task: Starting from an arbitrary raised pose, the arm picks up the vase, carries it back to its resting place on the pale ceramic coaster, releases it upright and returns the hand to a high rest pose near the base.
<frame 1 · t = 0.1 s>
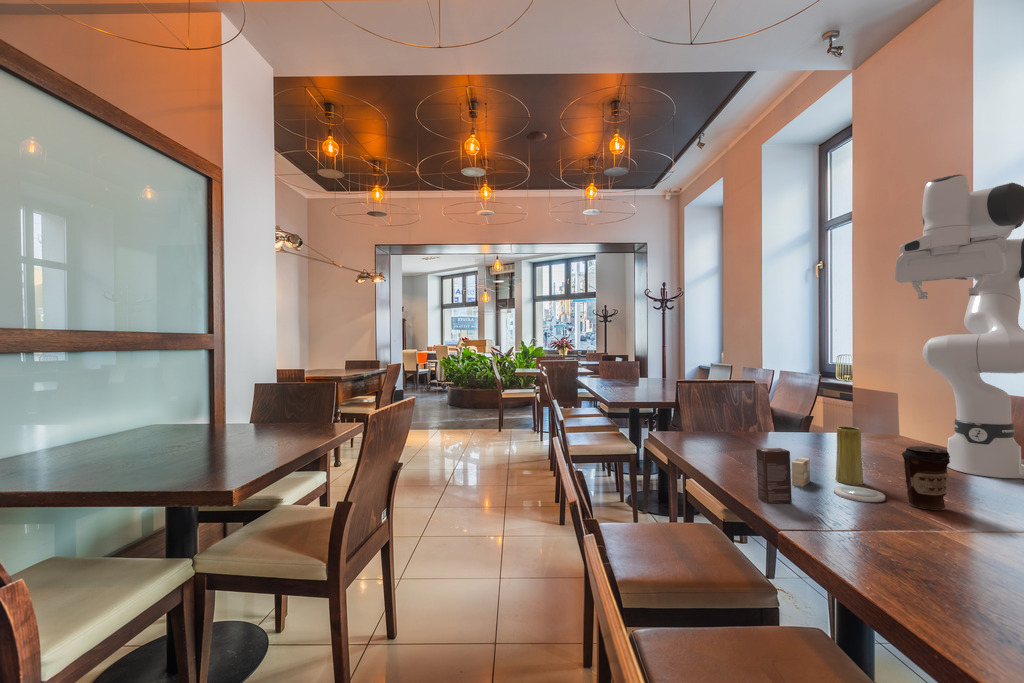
hand: (947, 297, 116), 48 cm above the table, fingers open, 8 cm apart
coffee cup: (927, 507, 106), on the table
coaster: (858, 495, 114), on the table
vase: (849, 482, 125), on the table
box: (774, 501, 111), on the table
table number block: (801, 483, 124), on the table
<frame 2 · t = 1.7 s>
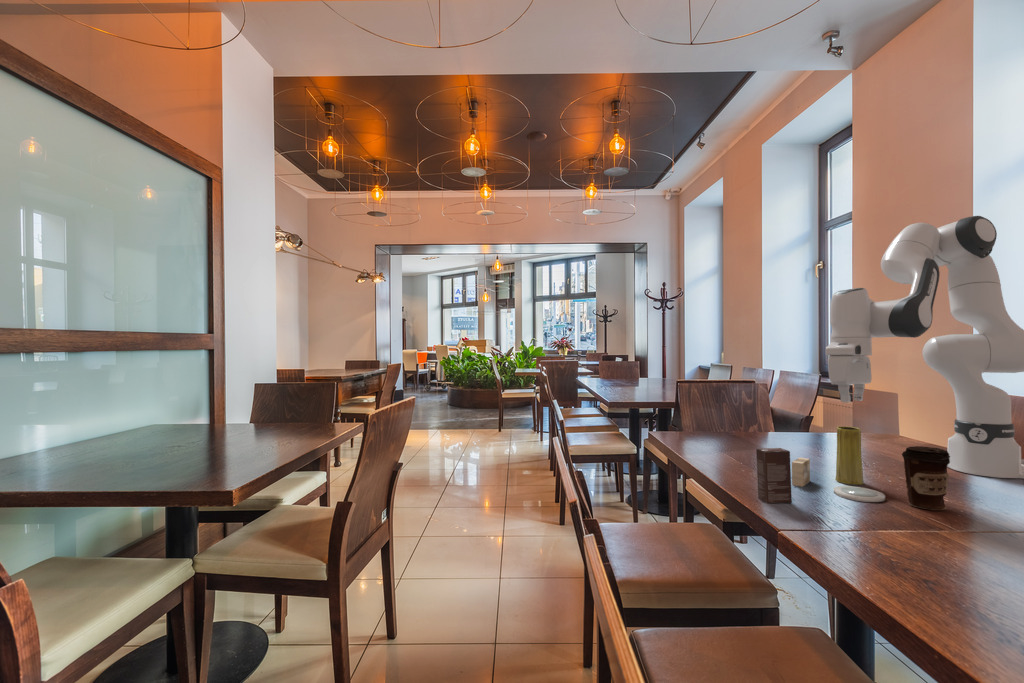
hand: (852, 401, 124), 21 cm above the table, fingers open, 8 cm apart
nothing on the table moved.
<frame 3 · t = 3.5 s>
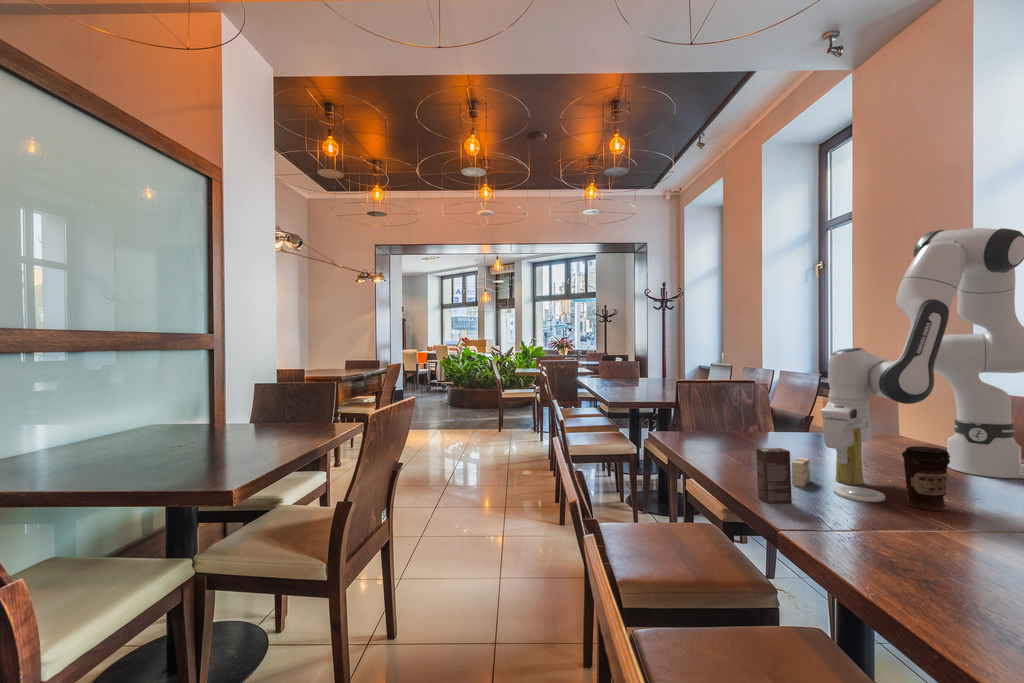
hand: (849, 461, 125), 5 cm above the table, fingers closed on vase, 5 cm apart
vase: (849, 482, 125), on the table, touching gripper
everything else where it was.
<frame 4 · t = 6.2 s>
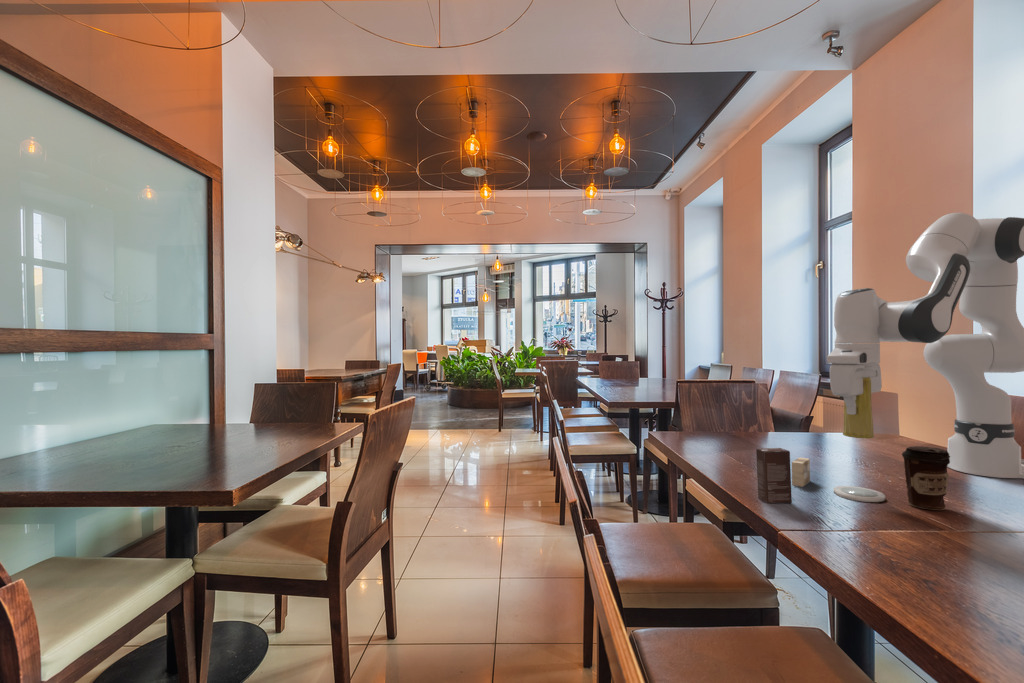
hand: (858, 412, 114), 20 cm above the table, fingers closed on vase, 5 cm apart
vase: (858, 437, 114), point 14 cm above the table, touching gripper
everything else where it was.
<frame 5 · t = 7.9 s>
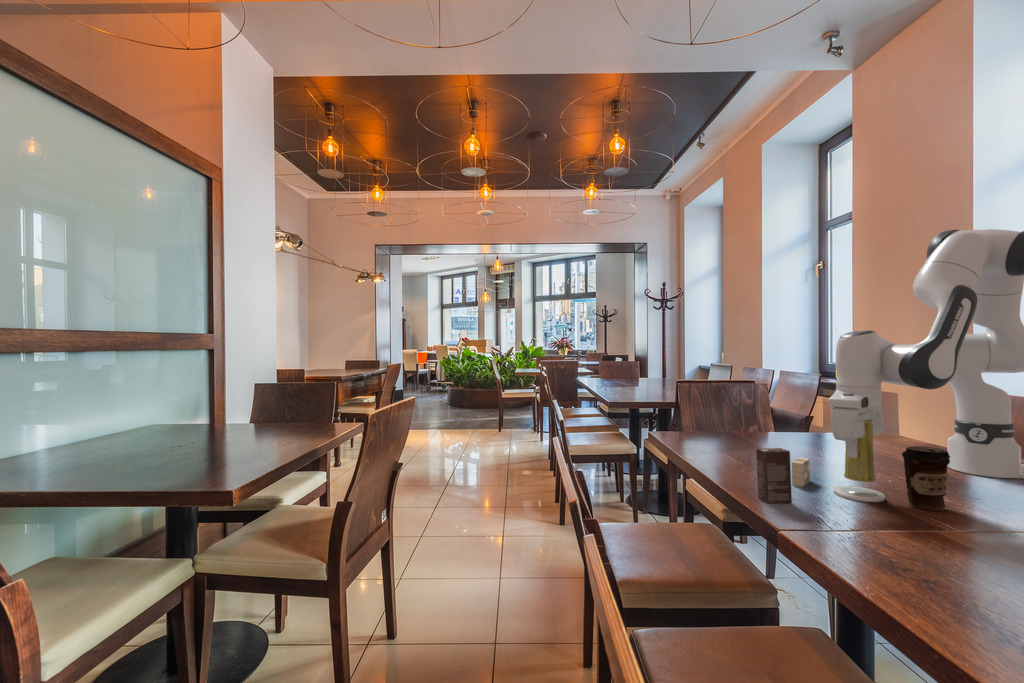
hand: (859, 455, 114), 10 cm above the table, fingers closed on vase, 5 cm apart
vase: (859, 479, 113), point 4 cm above the table, touching gripper
everything else where it was.
when the fingers open (7 cm above the table, at t = 9.0 s): vase stays where it is, resting on coaster.
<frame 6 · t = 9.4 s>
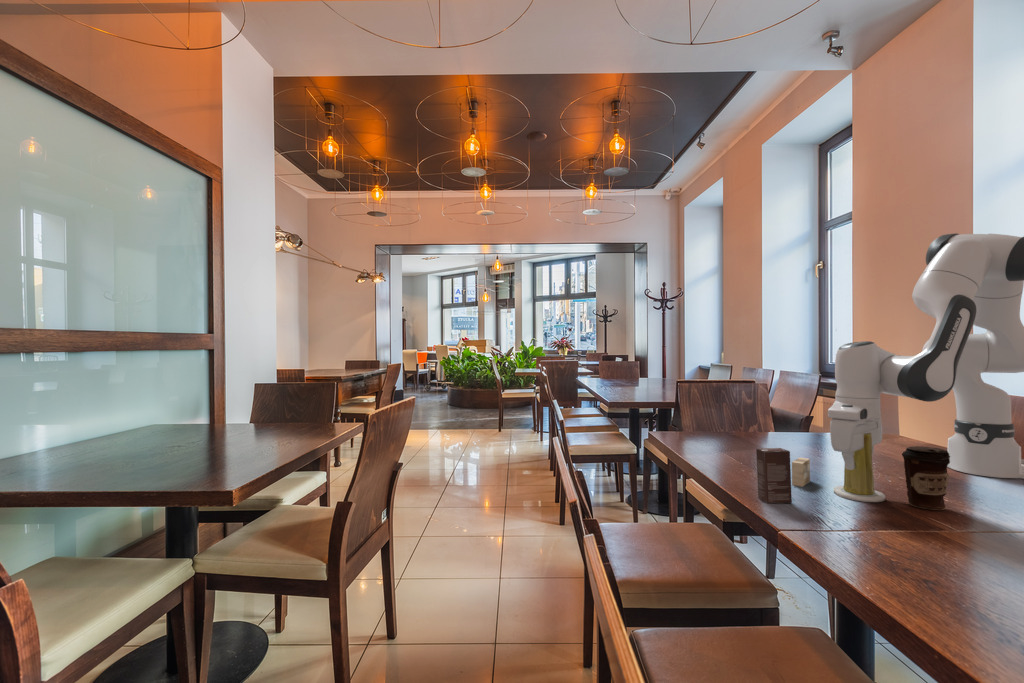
hand: (858, 466, 114), 7 cm above the table, fingers open, 8 cm apart
vase: (858, 492, 114), point 1 cm above the table, touching coaster
everything else where it was.
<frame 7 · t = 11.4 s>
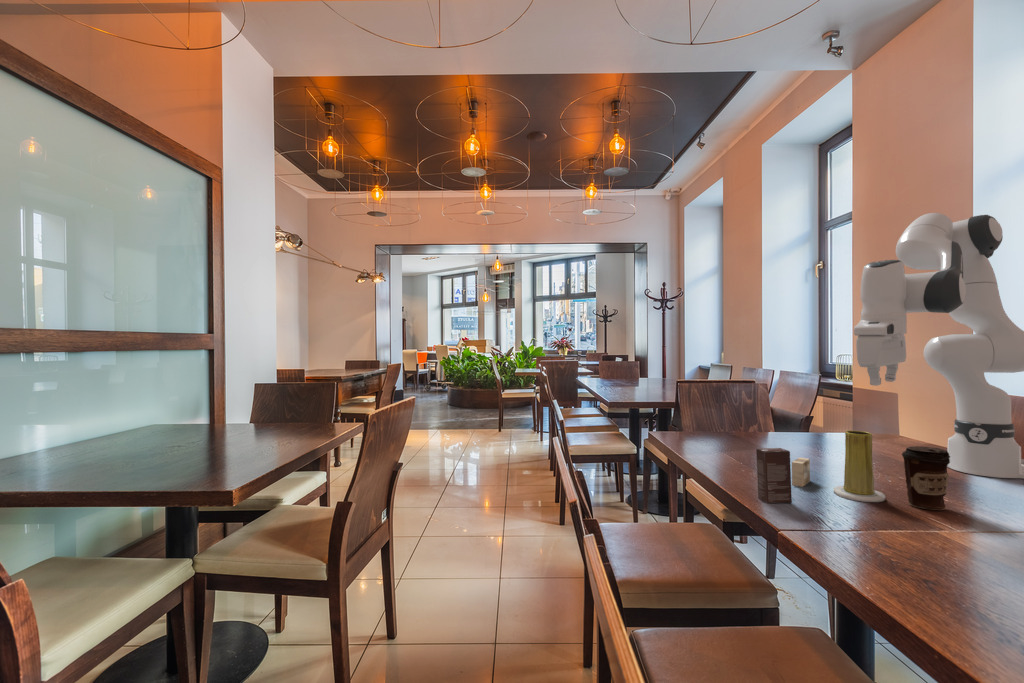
hand: (883, 383, 115), 27 cm above the table, fingers open, 8 cm apart
nothing on the table moved.
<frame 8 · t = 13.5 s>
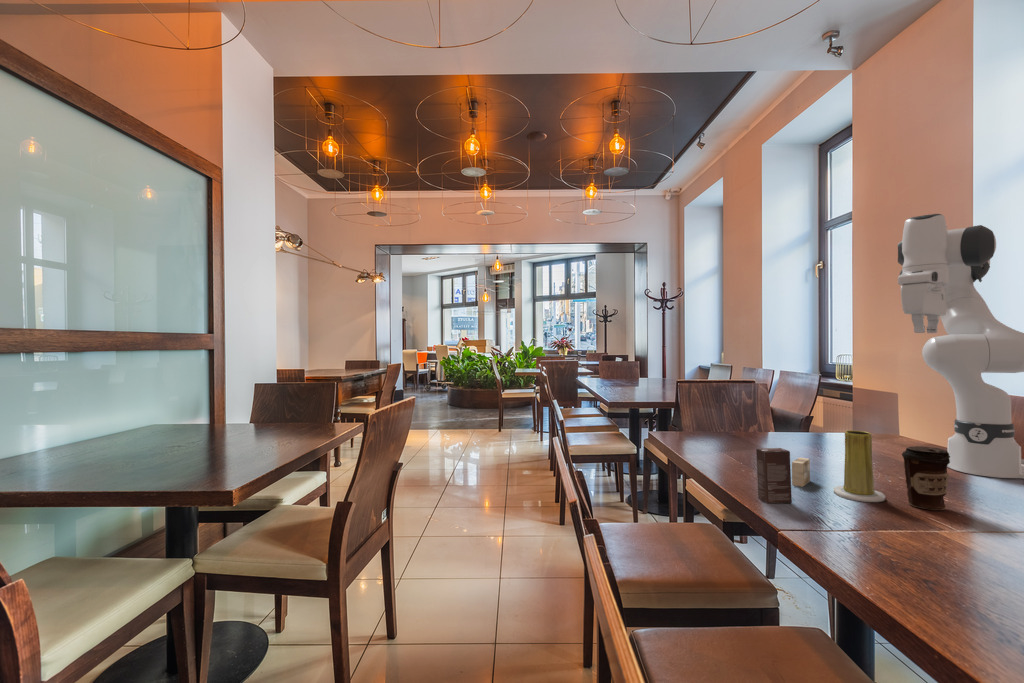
hand: (925, 333, 119), 39 cm above the table, fingers open, 8 cm apart
nothing on the table moved.
at the end: vase 0.1 cm from the coaster (horizontally); vase tilted 0°; the gripper is holding nothing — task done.
